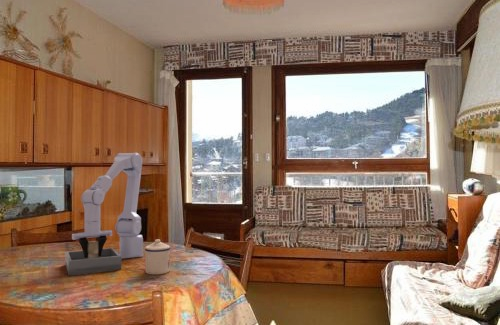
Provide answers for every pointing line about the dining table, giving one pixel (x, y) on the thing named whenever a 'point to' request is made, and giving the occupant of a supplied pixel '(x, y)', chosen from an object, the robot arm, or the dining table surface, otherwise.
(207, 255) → the dining table surface
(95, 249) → the peg
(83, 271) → the box
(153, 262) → the teacup with lid
